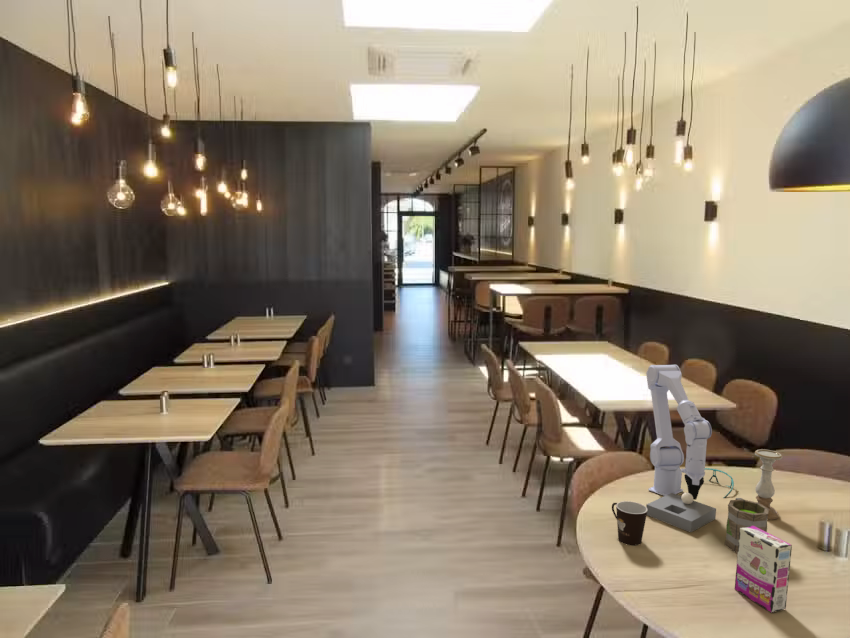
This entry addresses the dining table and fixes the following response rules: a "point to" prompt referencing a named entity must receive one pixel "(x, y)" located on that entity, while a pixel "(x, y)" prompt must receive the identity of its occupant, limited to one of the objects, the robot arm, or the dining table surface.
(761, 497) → the candle holder
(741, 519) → the mug
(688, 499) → the ball
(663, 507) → the deck
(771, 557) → the candy bar box
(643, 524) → the coffee mug
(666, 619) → the dining table surface
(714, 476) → the teal safety glasses
